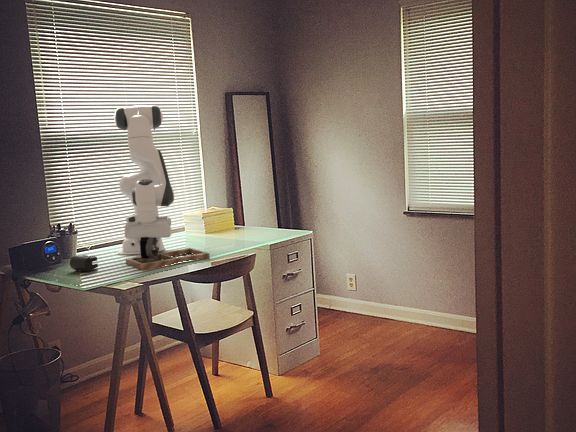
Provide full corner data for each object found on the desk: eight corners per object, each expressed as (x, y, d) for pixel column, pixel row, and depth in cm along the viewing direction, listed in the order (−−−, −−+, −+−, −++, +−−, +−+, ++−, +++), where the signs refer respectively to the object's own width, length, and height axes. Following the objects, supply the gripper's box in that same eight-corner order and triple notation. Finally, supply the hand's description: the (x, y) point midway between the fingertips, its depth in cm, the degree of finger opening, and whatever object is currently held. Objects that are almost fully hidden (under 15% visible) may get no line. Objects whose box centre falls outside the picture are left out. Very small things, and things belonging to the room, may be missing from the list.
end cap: (70, 272, 266) (68, 256, 265) (83, 268, 272) (82, 253, 271) (85, 274, 261) (84, 258, 260) (99, 270, 267) (97, 255, 266)
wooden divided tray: (142, 270, 260) (142, 264, 260) (126, 263, 277) (125, 258, 277) (209, 258, 278) (209, 253, 278) (190, 252, 294) (189, 247, 294)
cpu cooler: (152, 260, 268) (151, 237, 267) (139, 260, 269) (138, 237, 267) (160, 255, 278) (159, 233, 277) (148, 255, 279) (147, 233, 278)
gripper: (172, 215, 274) (174, 245, 276) (126, 216, 274) (128, 246, 276) (169, 217, 267) (171, 248, 270) (122, 218, 268) (124, 249, 270)
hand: (149, 247), depth 273 cm, fingers closed on cpu cooler, 5 cm apart
